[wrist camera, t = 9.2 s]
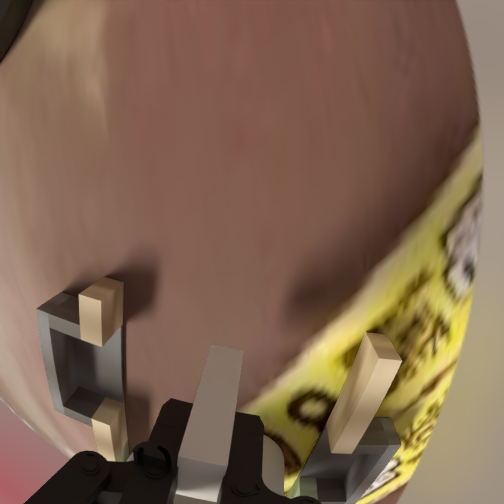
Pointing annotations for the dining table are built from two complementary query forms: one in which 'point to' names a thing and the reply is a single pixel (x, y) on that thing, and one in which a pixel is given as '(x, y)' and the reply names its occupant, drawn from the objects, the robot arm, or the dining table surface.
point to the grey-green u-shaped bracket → (113, 404)
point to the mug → (270, 472)
